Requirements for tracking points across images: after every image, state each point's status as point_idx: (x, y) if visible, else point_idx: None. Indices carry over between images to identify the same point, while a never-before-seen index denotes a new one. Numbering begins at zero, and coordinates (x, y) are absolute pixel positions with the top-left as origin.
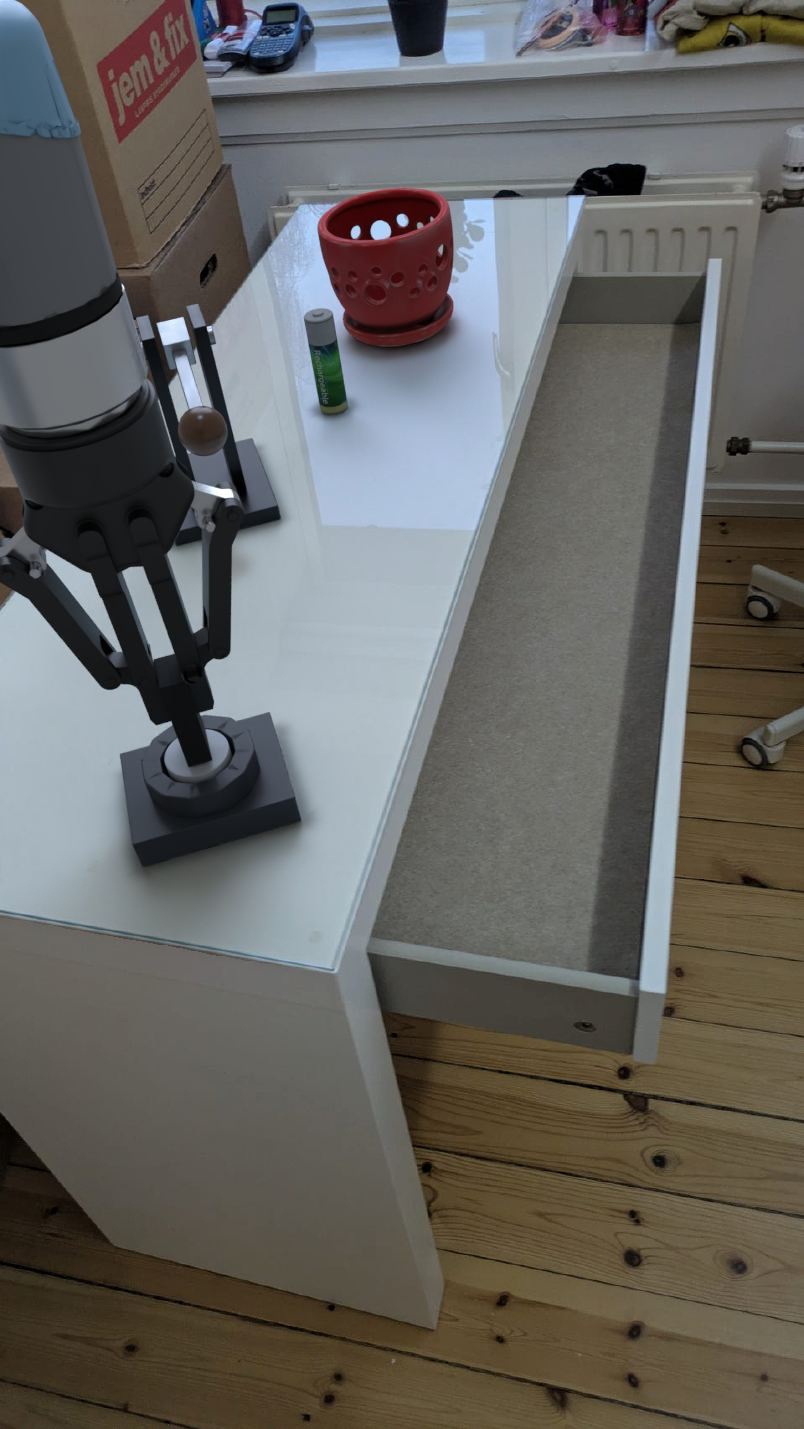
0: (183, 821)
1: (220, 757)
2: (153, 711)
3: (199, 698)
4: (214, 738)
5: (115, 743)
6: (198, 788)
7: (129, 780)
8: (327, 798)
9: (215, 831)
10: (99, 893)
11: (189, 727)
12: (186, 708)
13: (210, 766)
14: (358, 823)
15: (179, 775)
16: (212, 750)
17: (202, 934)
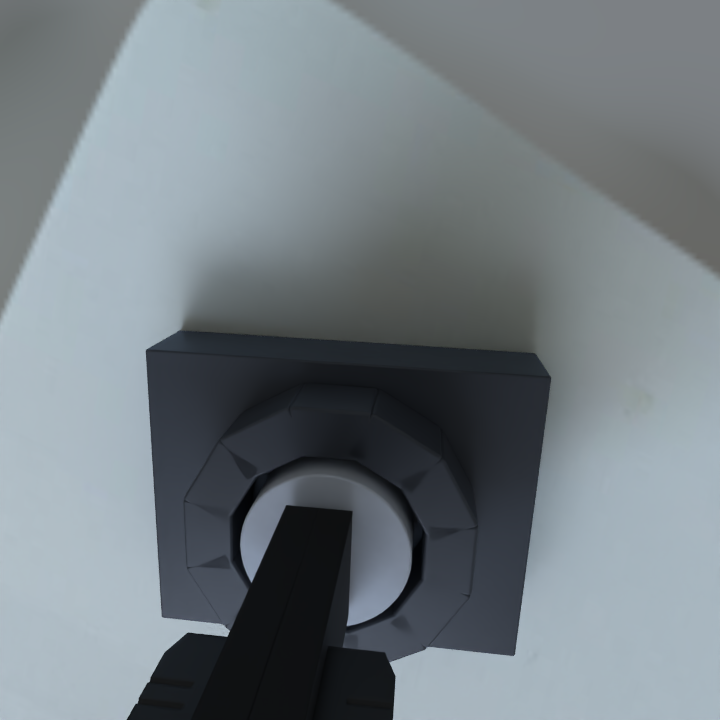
0: (414, 392)
1: (267, 510)
2: (370, 704)
3: (195, 684)
4: None
5: (512, 698)
6: (345, 439)
7: (510, 571)
8: (118, 365)
9: (352, 352)
10: (646, 323)
11: (282, 598)
12: (246, 660)
13: (297, 492)
14: (66, 271)
15: (383, 499)
16: None
17: (450, 106)
